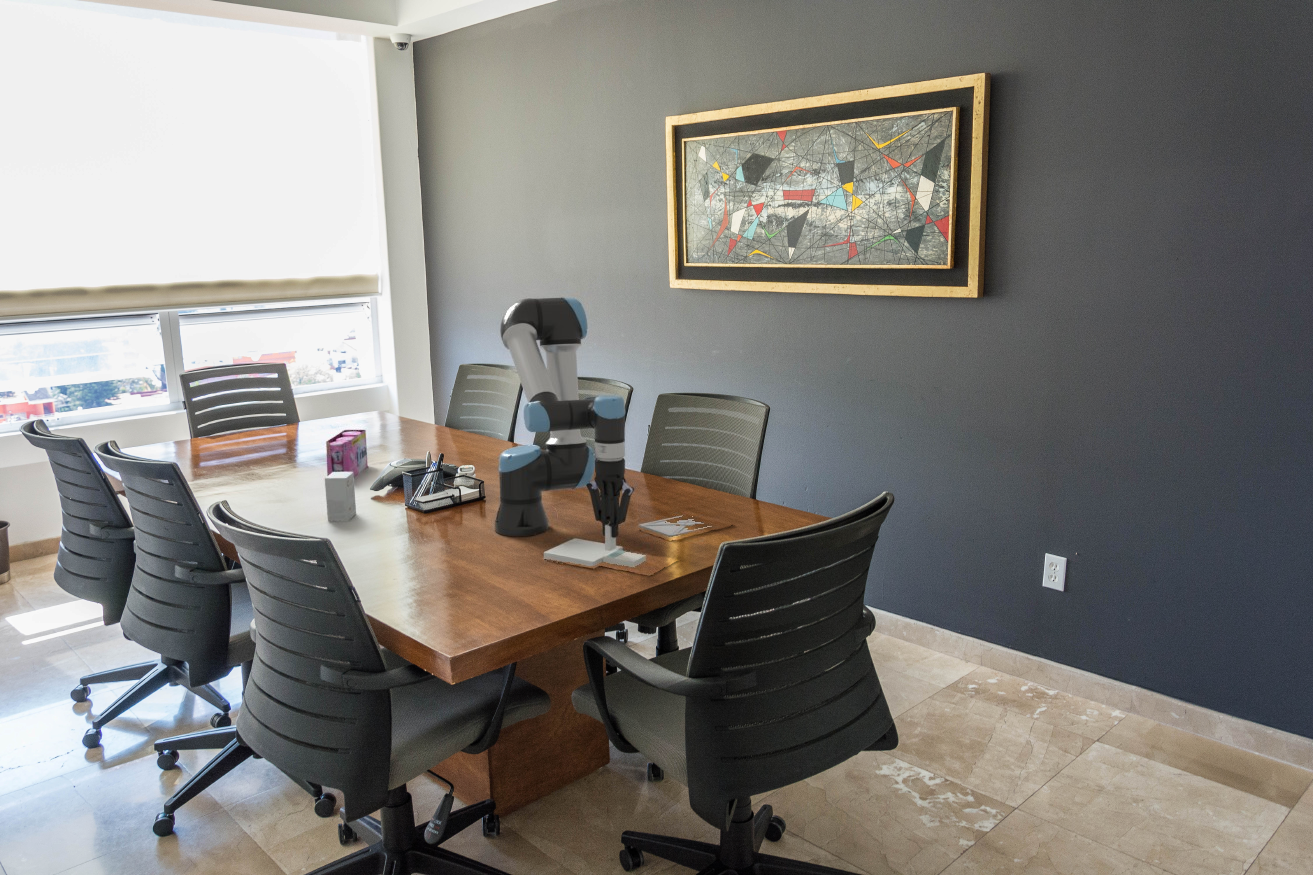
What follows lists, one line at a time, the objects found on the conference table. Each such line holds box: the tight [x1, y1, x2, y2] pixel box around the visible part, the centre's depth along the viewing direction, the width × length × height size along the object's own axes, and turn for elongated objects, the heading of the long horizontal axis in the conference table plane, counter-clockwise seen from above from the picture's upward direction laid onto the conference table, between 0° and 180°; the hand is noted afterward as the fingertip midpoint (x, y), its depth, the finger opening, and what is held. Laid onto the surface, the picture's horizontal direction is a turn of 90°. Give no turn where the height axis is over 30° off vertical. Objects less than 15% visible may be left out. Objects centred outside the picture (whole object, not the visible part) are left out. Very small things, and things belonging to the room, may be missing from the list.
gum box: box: [325, 429, 369, 478], centre depth 338 cm, size 24×8×14 cm, turn 1°
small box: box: [324, 472, 357, 522], centre depth 283 cm, size 8×6×13 cm
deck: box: [543, 537, 624, 566], centre depth 249 cm, size 14×15×2 cm
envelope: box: [637, 514, 712, 537], centre depth 275 cm, size 24×2×14 cm
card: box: [603, 550, 646, 567], centre depth 243 cm, size 6×9×2 cm, turn 60°
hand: (610, 548), depth 244 cm, fingers closed
